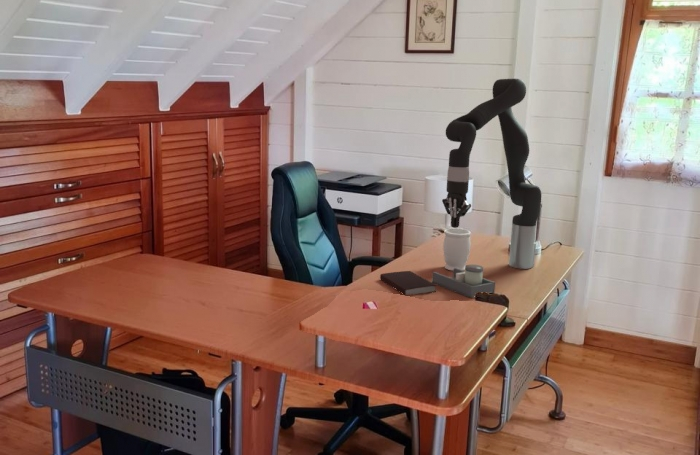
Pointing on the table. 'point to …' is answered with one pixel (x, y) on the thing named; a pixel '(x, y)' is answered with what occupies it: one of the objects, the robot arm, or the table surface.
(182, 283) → the table surface
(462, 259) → the jar
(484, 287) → the grey tray
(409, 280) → the book
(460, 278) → the block
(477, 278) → the small jar
